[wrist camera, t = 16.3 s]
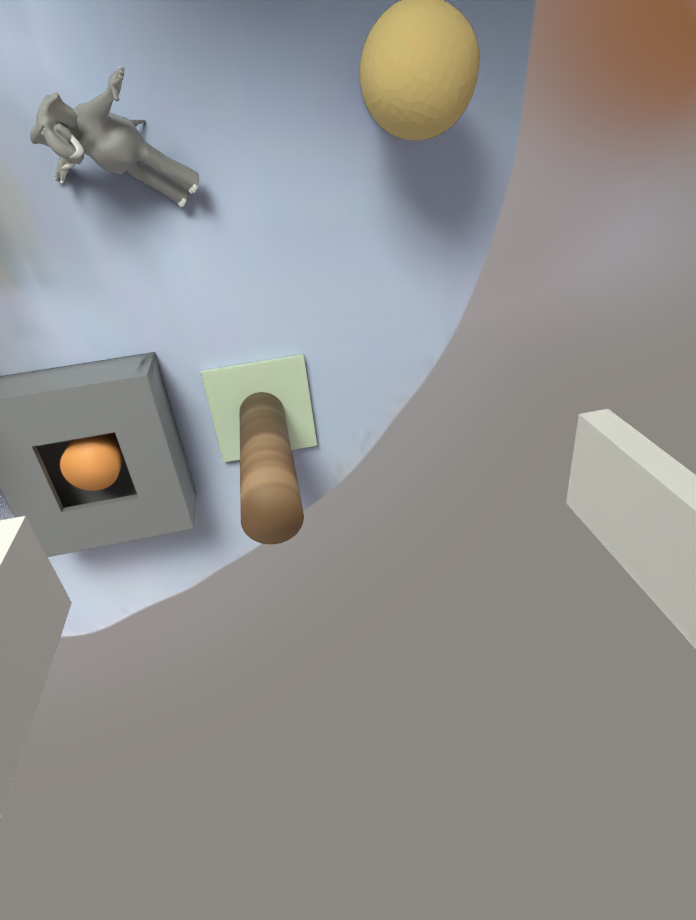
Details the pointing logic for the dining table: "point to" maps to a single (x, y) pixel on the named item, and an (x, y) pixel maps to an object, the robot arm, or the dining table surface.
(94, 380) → the grey square holder
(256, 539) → the walnut dowel
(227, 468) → the dining table surface
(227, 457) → the mat
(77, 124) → the elephant figurine
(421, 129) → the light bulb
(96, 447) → the button
